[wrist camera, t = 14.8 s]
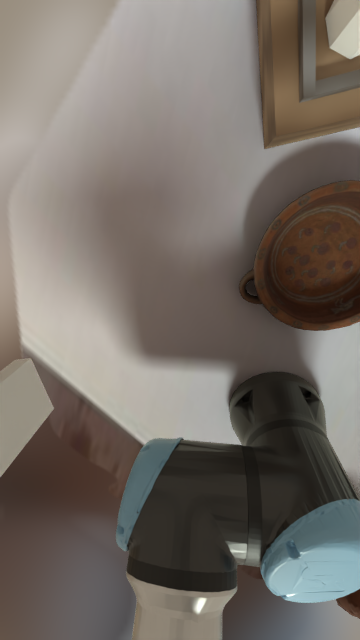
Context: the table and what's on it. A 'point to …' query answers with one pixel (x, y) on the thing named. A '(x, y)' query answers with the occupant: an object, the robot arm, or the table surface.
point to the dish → (312, 260)
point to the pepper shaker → (344, 27)
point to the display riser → (303, 74)
